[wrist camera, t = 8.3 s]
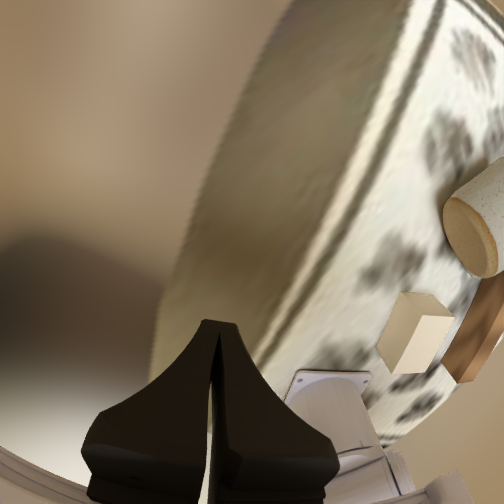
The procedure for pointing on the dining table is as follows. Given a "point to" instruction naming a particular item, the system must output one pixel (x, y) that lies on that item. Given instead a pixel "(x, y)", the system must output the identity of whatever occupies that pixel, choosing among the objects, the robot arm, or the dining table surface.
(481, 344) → the walnut rail
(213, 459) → the robot arm
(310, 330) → the dining table surface
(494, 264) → the ceramic mug
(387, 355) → the beige rectangular block
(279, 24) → the dining table surface
